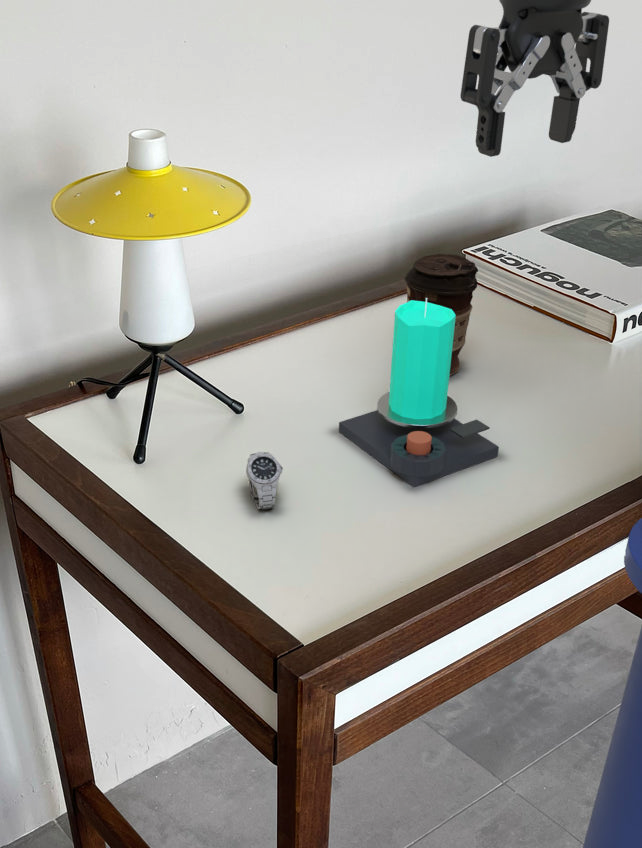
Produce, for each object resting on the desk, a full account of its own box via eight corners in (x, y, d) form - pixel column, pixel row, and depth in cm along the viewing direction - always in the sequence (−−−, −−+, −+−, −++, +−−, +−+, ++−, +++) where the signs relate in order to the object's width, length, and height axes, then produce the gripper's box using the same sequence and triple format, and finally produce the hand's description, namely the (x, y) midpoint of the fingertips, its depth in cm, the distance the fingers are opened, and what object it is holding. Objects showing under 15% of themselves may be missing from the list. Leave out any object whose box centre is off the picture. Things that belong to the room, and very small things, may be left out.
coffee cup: (485, 373, 120) (498, 268, 113) (430, 390, 117) (440, 283, 109) (437, 346, 126) (447, 245, 119) (384, 362, 123) (391, 259, 116)
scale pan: (494, 427, 104) (494, 424, 103) (429, 449, 100) (430, 446, 100) (423, 383, 112) (423, 380, 111) (361, 403, 108) (361, 399, 108)
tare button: (435, 452, 100) (436, 438, 99) (416, 458, 99) (417, 445, 98) (420, 441, 102) (421, 428, 101) (401, 448, 101) (402, 434, 100)
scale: (502, 459, 104) (505, 434, 102) (411, 492, 99) (414, 466, 97) (418, 405, 114) (421, 381, 112) (332, 433, 109) (333, 408, 107)
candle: (378, 398, 108) (385, 291, 101) (428, 388, 110) (438, 283, 103) (405, 423, 103) (413, 314, 97) (456, 413, 105) (468, 304, 98)
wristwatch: (251, 517, 96) (250, 472, 93) (238, 483, 101) (237, 439, 98) (287, 513, 96) (287, 468, 94) (273, 478, 101) (273, 435, 99)
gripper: (518, -50, 76) (493, 170, 85) (650, -61, 82) (612, 145, 91) (453, -58, 81) (435, 149, 90) (581, -68, 87) (552, 128, 96)
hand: (524, 147), depth 91 cm, fingers open, 8 cm apart
